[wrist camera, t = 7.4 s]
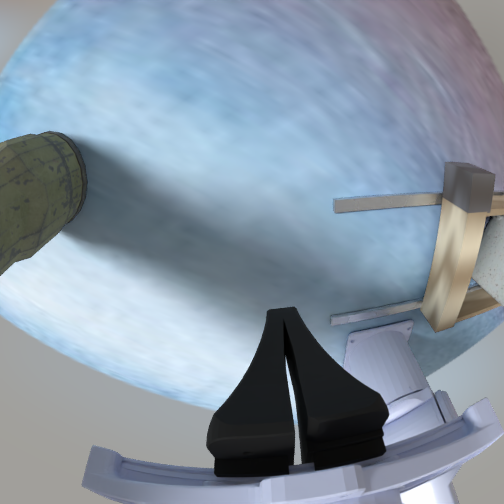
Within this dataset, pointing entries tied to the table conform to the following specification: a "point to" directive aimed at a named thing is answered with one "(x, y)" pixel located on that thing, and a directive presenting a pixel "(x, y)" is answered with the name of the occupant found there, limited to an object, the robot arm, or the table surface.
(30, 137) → the thermos
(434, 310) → the tan wooden bracket
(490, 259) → the ceramic mug
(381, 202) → the track
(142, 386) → the table surface
